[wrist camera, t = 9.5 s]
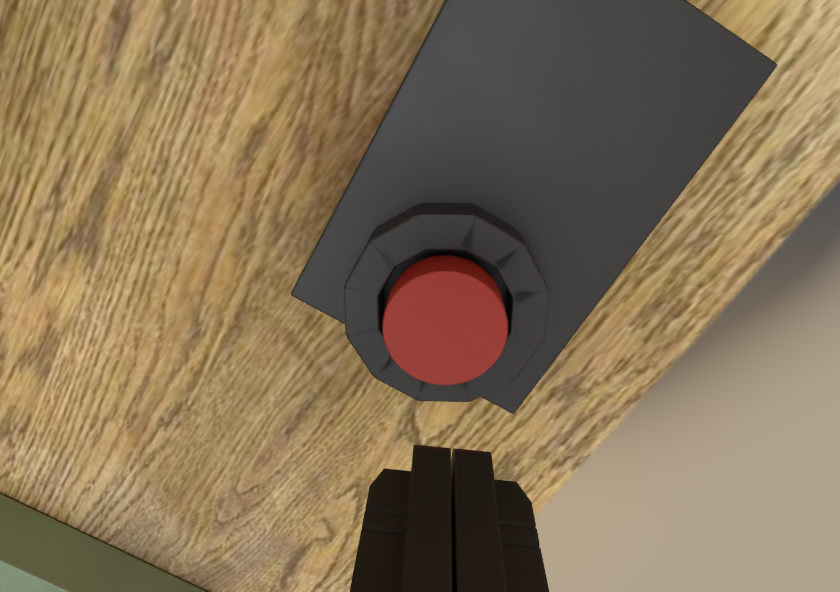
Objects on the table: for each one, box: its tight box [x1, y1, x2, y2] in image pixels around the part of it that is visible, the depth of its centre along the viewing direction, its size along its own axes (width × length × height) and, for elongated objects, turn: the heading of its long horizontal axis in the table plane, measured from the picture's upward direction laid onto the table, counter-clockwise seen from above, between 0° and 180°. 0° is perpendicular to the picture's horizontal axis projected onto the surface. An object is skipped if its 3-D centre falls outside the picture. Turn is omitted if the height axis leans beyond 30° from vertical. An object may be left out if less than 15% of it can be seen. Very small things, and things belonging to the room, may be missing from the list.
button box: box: [291, 0, 777, 414], centre depth 20 cm, size 15×10×4 cm, turn 150°
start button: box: [382, 255, 508, 385], centre depth 19 cm, size 4×4×2 cm
